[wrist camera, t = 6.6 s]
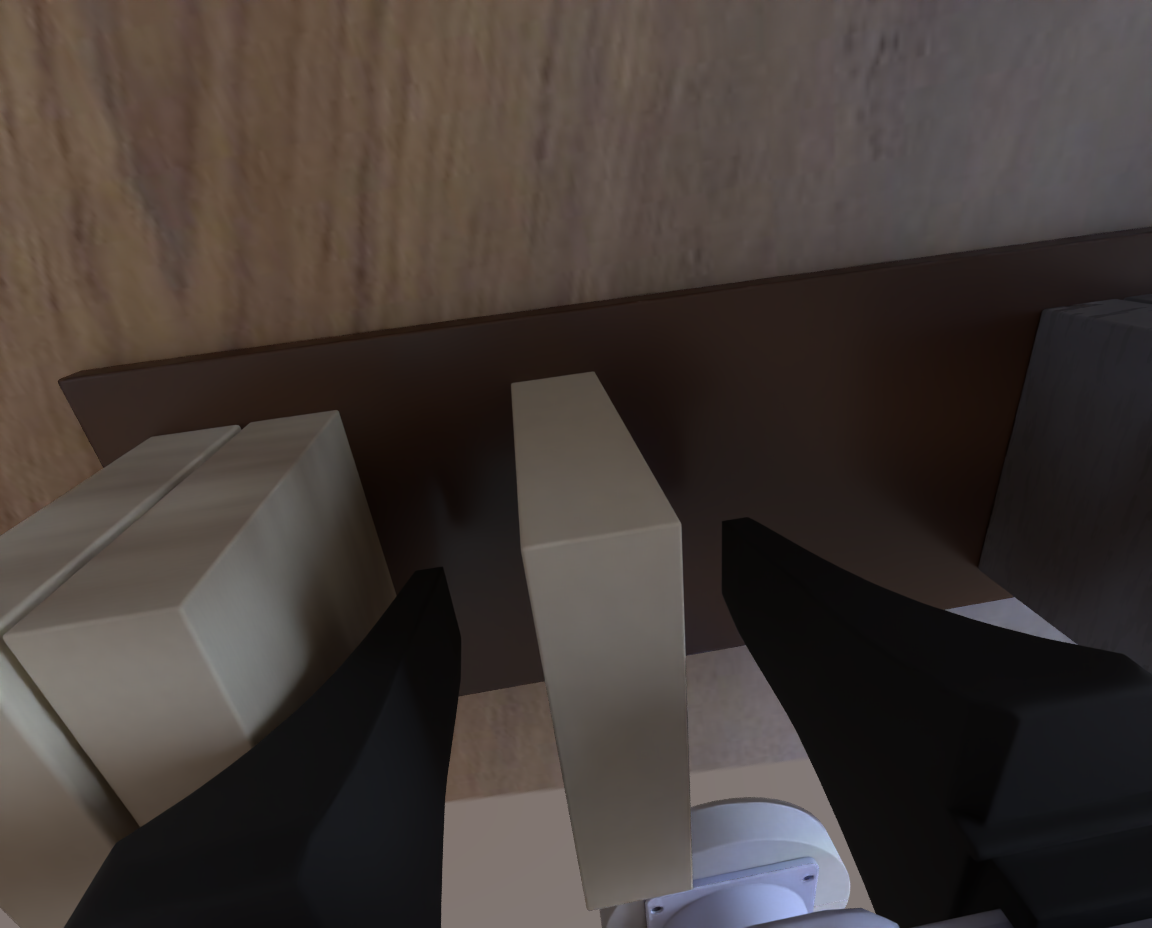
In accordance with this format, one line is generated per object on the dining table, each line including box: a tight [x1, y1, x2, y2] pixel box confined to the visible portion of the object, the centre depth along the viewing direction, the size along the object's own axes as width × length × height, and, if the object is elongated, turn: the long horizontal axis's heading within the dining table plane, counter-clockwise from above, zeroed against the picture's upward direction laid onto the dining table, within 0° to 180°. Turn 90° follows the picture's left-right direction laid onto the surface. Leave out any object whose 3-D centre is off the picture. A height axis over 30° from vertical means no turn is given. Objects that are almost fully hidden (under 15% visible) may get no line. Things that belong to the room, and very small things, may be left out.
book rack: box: [0, 226, 1152, 928], centre depth 12 cm, size 11×28×8 cm, turn 96°
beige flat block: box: [511, 372, 693, 911], centre depth 12 cm, size 8×2×7 cm, turn 6°
